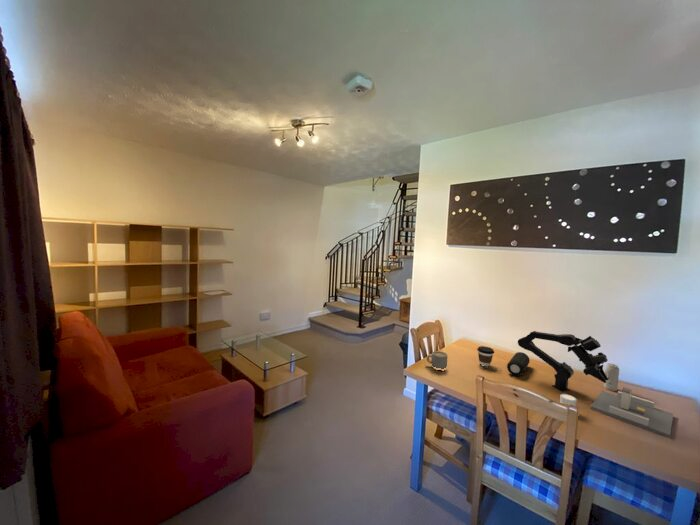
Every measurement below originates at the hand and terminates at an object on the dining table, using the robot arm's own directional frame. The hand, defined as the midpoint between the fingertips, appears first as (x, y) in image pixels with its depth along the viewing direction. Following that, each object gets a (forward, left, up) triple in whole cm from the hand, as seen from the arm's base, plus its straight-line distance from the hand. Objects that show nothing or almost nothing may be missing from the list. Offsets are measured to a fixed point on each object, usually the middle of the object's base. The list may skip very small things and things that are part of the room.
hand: (606, 381), depth 156 cm
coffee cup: (-29, +56, -13) cm, 65 cm away
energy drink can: (+23, +10, -13) cm, 28 cm away
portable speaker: (-12, +44, -13) cm, 48 cm away
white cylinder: (-28, 0, -13) cm, 30 cm away
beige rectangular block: (+3, -8, -11) cm, 13 cm away
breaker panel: (+4, -10, -13) cm, 16 cm away
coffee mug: (-65, +61, -13) cm, 91 cm away
